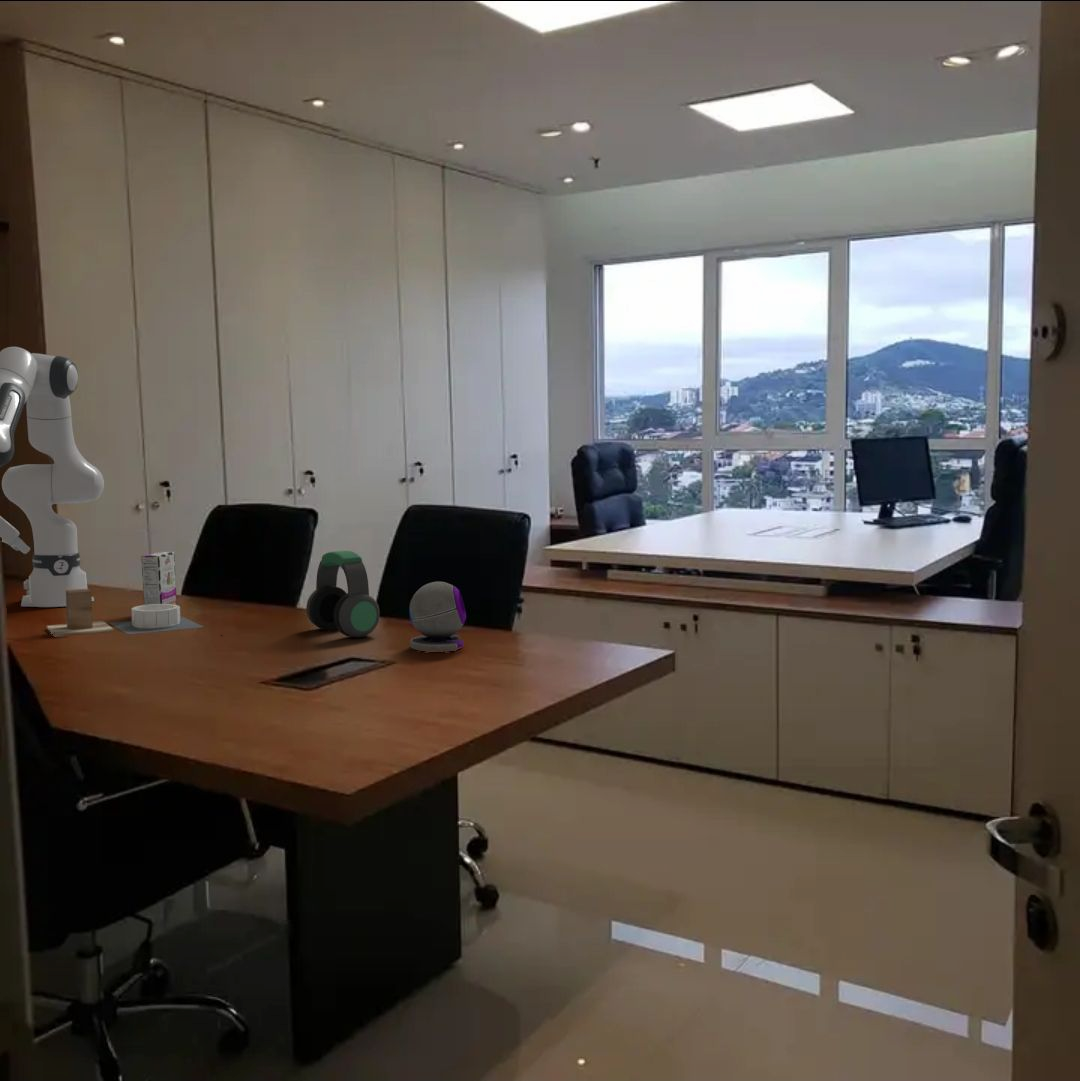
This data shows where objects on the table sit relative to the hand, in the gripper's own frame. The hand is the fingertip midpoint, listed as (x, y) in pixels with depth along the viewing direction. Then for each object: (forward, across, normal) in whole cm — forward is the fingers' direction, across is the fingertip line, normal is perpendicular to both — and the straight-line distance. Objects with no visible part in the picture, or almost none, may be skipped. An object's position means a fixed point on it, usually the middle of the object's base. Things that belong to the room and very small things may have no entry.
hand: (24, 550), depth 251 cm
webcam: (+68, -64, -38) cm, 101 cm away
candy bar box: (+38, +10, -10) cm, 40 cm away
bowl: (+34, -4, -6) cm, 35 cm away
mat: (+34, -4, -6) cm, 35 cm away
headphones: (+60, -37, -30) cm, 77 cm away
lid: (+23, 0, +6) cm, 24 cm away
